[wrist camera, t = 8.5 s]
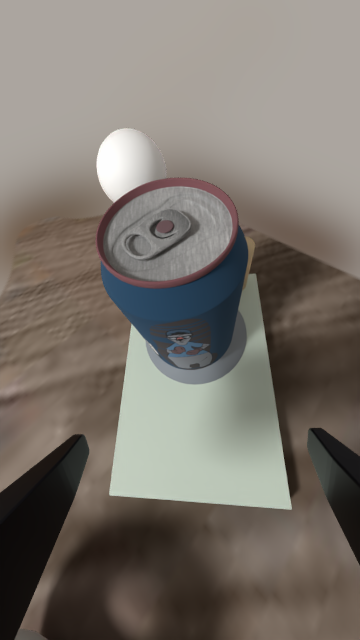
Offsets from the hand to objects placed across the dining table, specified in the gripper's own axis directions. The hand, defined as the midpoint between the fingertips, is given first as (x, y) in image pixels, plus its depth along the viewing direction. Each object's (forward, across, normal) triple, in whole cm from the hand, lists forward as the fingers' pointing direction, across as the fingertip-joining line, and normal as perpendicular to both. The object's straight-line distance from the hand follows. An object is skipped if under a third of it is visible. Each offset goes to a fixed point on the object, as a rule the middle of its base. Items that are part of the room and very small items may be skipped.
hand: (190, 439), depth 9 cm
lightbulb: (+22, +4, -8) cm, 24 cm away
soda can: (+11, 0, 0) cm, 11 cm away
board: (+10, 0, +3) cm, 11 cm away
